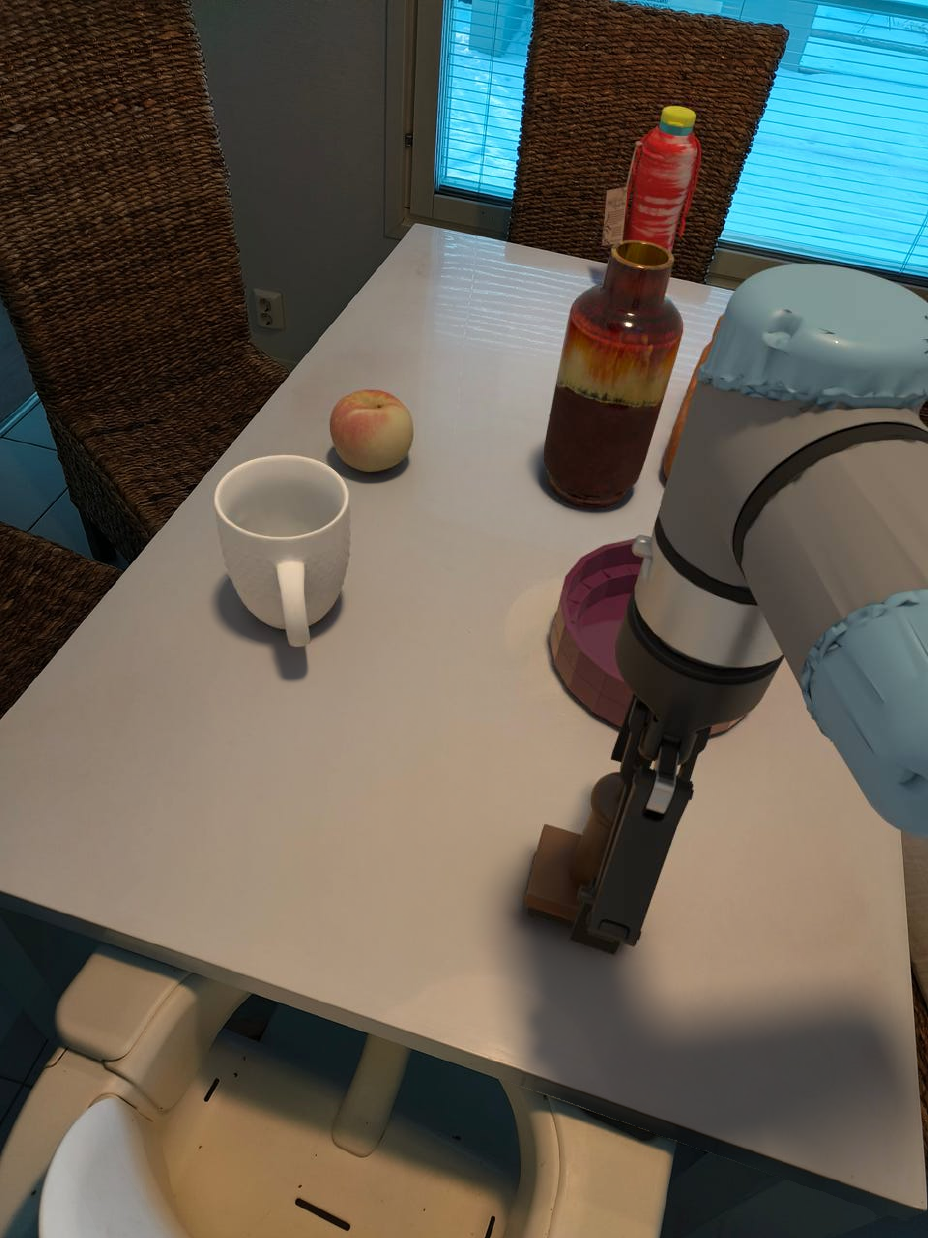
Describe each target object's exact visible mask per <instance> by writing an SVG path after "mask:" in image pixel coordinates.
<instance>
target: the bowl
mask: <svg viewBox="0 0 928 1238" xmlns="http://www.w3.org/2000/svg"><path fill="white" fill-rule="evenodd" d="M634 540H635V538H632V539H631V538H630V539H627V540H622V541H617V542H612V543H608V544H604V545H601V546H599V547H597V548H596V549H594V550H592V551H590V552H589V553H587V554H585V555H583V556H582V557H580V558H579V559H578V561H576V563H575V564H574V565H573V567H571V569H570V570H569V571H568V572H567V574H566V575H565V577H564V581H563V584H562V588H561V592H560V595H559V599H558V605H557V608H556V612H555V615H554V620H553V623H552V624H553V625H552V629H551V632H550V635H549V636H550V637H549V642H550V647H551V653H552V659H553V664H554V667H555V668H556V670H557V673H559V675H560V677H561V679H562V680H563V682H564V683H565V685H566V688H568V690H569V692H570V693H572V694H573V696H574V697H576V698H577V699H578V700H579V701H580V702H581V703H582V704H584V705H585V706H586V707H587V708H588V709H589V710H590V711H591V712H592V713H593V714H595V715H597V716H599V717H601V718H603V719H604V720H606V721H609V722H610V723H612V724H614V725H616V726H618V727H619V728H621V726H622V723H623V721H624V718H625V715H626V712H627V710H628V707H629V704H630V702H631V699H632V696H633V692H632V691H631V690H630V688H629V687H628V686H627V684H626V683H625V682H624V680H623V678H622V676H621V674H620V672H619V670H618V667H617V663H616V658H615V644H616V639H617V636H618V633H619V630H620V627H621V624H622V620H623V617H624V614H625V611H626V608H627V605H628V602H629V599H630V596H631V594H632V592H633V591H634V589H635V585H636V582H637V579H638V575H639V572H640V569H641V566H642V562H643V559H644V558H642V557H638V556H636V555H634V553H633V552H632V545H633V542H634ZM741 719H743V717H741V718H739V719H737V720H734V721H731V722H727V723H723V724H718V725H714V726H712V728H711V731H710V735H709V736H712V735H715V734H718V733H722V732H724V731H727V730H728V729H729V728H731V727H733V725H735V724H736V723H737V722H738V721H740V720H741Z"/></svg>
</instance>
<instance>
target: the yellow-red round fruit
mask: <svg viewBox="0 0 928 1238" xmlns="http://www.w3.org/2000/svg"><path fill="white" fill-rule="evenodd" d="M329 433H330V438H331V441H332V444H333V446H334V448H335V451H336V452H337V454H338V456H339V458H340V459H341V460H342V461H343V462H344V463H345V464H346V465H348V466H349V467H351V468H353V469H355V470H358V471H361V472H367V473H372V472H379V471H384V470H387V469H391V468H392V467H394V466H396V465H398V464H400V463H401V462H402V461H403V460H404V459H405V458H406V456H407V455H408V454H409V451H410V450H411V448H412V444H413V441H414V422H413V418H412V415H411V412H410V410H409V409H408V407H407V406H406V405H405V404H404V403H403V401H401V400H400V398H398V397H397V396H395V395H394V394H393V393H390V392H387V391H384V390H382V389H381V390H380V389H361V390H360V389H359V390H357V391H354V392H351V393H349V394H347V395H345V396H343V397H342V398H341V399H339V400H338V401H337V402H336V404H335V405H334V407H333V409H332V411H331V414H330V418H329Z"/></svg>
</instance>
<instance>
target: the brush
mask: <svg viewBox="0 0 928 1238" xmlns="http://www.w3.org/2000/svg"><path fill="white" fill-rule="evenodd" d="M624 787H625V783H624V782H623V781H622V780H621V777H620V771H614V772H610V773H606V774H605V775H604V776H602V777H601V778H599V779H598V780H597V781H596V783H594V786H593V787H592V790H591V792H590V798H589V803H590V804H589V805H590V809H591V810H590V812H589V816H588V818H587V821H586V823H585V826H584V828H583V831H582V833H577V832H574V831H571V830H568V829H565V828H561V827H557V826H554V825H551V824H547V823H544V824H543V827H542V830H541V833H540V836H539V840H538V843H537V844H538V845H537V848H536V852H535V857H534V861H533V864H532V869H531V873H530V877H529V881H528V884H527V889H526V893H525V897H524V900H523V901H524V902H523V906H524V907H527V909H526V913H525V914H526V916H529V917H533V918H537V919H540V920H543V921H547V922H550V923H552V924H555V925H560V926H562V927H566V928H569V929H572V927H573V925H574V922H575V920H576V918H577V915H578V913H579V910H580V908H581V905H582V903H583V902H581V901H578V900H577V897H578V892H579V888H580V885H584V886H587V887H589V886H590V884H591V881H592V879H593V877H596V878H598V875H599V871H600V868H601V865H602V861H603V858H604V854H605V851H606V848H607V844H608V841H609V837H610V834H611V831H612V827H613V824H614V821H615V817H616V814H617V810H618V807H619V804H620V800H621V797H622V793H623V790H624Z"/></svg>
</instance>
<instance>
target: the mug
mask: <svg viewBox="0 0 928 1238" xmlns="http://www.w3.org/2000/svg"><path fill="white" fill-rule="evenodd" d="M213 504H214V511H215V518H216V519H215V521H216V525H217V527H216V528H217V533H218V536H219V544H220V548H221V550H222V551H221V552H222V557H223V558H224V566H225V568H226V569H227V575H228V577H229V578H230V580H231V583H232V586H233V588H234V589H235V591H236V593H237V595H238V597H239V598H240V600H241V602H242V603H243V604H244V606H245V607H246V608H247V610H248V611H249V612H250V613H252V614H253V615H254V616H255V617H256V618H257V619H259V620H260V621H261V622H262V623H264V624H266V625H268V626H270V627H273V628H276V629H279V630H285V632H286V636H287V641H288V644H289V645H290V646H291V647H294V648H301V647H306V646H308V645H310V644H311V635H310V628H309V627H310V626H312V625H314V624H316V623H317V622H318V621H320V620H321V619H322V618H323V617H325V616H326V614H327V613H329V611H330V610H331V608H332V607H333V606H334V604H335V602H336V601H337V599H338V598H339V596H340V593H341V592H342V587H343V585H344V584H345V578H346V576H347V573H348V572H347V571H348V566H349V557H350V555H351V554H350V548H351V512H350V492H349V489H348V486H347V484H346V482H345V480H344V479H343V478H342V476H341V475H340V474H339V473H338V472H337V471H336V470H335V469H334V468H332V467H330V466H329V465H327V464H325V463H323V462H321V461H319V460H317V459H314V458H310V457H305V456H303V455H302V456H301V455H296V454H295V455H294V454H278V455H267V456H262V457H258V458H254V459H251V460H248V461H245V462H243V463H241V464H239V465H237V466H235V467H233V468H232V469H230V471H228V472H227V473H226V474H225V475H224V476H223V477H222V478H221V479H220V480H219V482H218V483H217V486H216V488H215V490H214V495H213Z"/></svg>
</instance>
